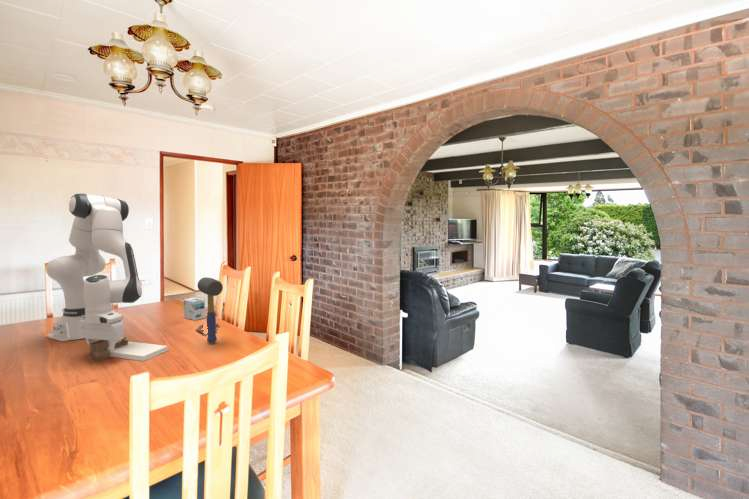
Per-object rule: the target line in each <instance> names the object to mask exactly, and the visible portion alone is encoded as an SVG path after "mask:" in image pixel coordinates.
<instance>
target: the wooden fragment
mask: <svg viewBox="0 0 749 499" xmlns="http://www.w3.org/2000/svg"><path fill="white" fill-rule="evenodd" d="M217 327H218V328H220V325H219V323H216V326H215V331H216V330H217V331H218V332H219V330H218V328H217ZM202 328H203V324H201V325H199V326H198V327H197V328H196V329H195V331H196V330H197V331H196V332H198V333H200V334H202V336H203V335H204V337H207V336H206V335H208V333H207V334H204V333H203V331H204V330H201V329H202ZM216 328H217V329H216ZM207 329H208V328H207ZM217 331H216V334H218V333H217Z"/></svg>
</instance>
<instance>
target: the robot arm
mask: <svg viewBox="0 0 749 499" xmlns="http://www.w3.org/2000/svg"><path fill="white" fill-rule="evenodd" d="M68 203H69V204H68V210H69V212H70V213H71V215H73V216H74V218H73V222H72V226H71V230H70V233H69V237H68V241H69V244H71V246H72V247H74V249H75V253H74V254H72V255H71V254H70V255H63V256H59V257H57V258H56V257H55V258H53V259H51V260H49V261H48V262H47V263H46V268H45V269H46V274H47V276H48V277H49V278H50V279H52V280H53V281H55V282H56V283H58V284H59V286H60V288H61V289H62V293H63V297H64V304H65V305H64V306H65V307H64V308H63V309H61V312H63V313H62V316H61V317H59V319H58V320H56V321H55V322H54V323H53V324H52V332H49V333H48V334H46V337H47V338H48V339H52V340H56V341H59V342H67V341H72V340H73V341H74V340H81V339H85V341H86V342H87V345H89V343H92V342H95V341H94V340H97V341H98V340H108V342H109V346H108V351H113V350H114V349H115V347H114V346H115V344H116V343H117V342H119V341H122V339H123V338H125V336H126V335H125V334H126V333H125V326H124V325H125V324H124V322H123V320H124V315H123V314H121V312H117V311H116V310H114V309H113V305H112V304H123V303H124V304H125V303H126V304H133V303H135V302H137V301H138V300H140V298H141V297H142V295H143V288H142V285H141V282H140V279H139V272H138V270H137V269H138V268H137V262H136V259H135V255H134V253H135V252H134V249H133V247H132V245H131V244H130V243H129V242H127V241H126V240H125V238H124V224H123V222H124V221H125V220H126V219H127V218H128V217H129V212H130V209H129V208H130V207H129V205H128V203H127V202H126V201H124V200H122V199H119V198H117V199H116V198H113V197H109V196H104V195H97V194H96V195H95V194H86V193H74V195H72V196H71V197H70V200H69V202H68ZM100 251H102V252H104V253H106V254H110V255H114V256H117V257H119V258H120V260H122V265H123V269H124V273H125V275H124V276H125V279H116V280H109V277H108V276H107V275H105V274H99V273H101V272H102V271H104V270H105V268H106V260H105V258H104V257H103V256H102V255H101V254H100ZM85 277H86V278H85ZM84 278H85V279H84ZM88 348H89V347H88ZM89 350H90V348H89Z"/></svg>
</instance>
